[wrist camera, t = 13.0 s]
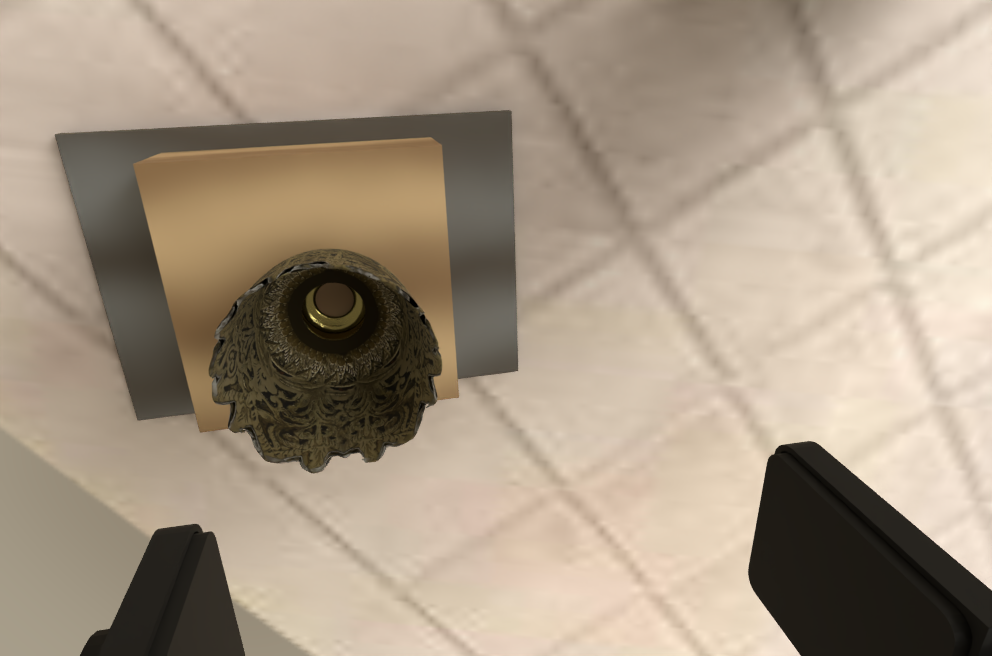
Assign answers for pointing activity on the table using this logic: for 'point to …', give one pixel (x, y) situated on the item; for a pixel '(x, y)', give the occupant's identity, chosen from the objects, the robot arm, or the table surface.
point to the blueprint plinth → (142, 274)
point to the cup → (325, 362)
